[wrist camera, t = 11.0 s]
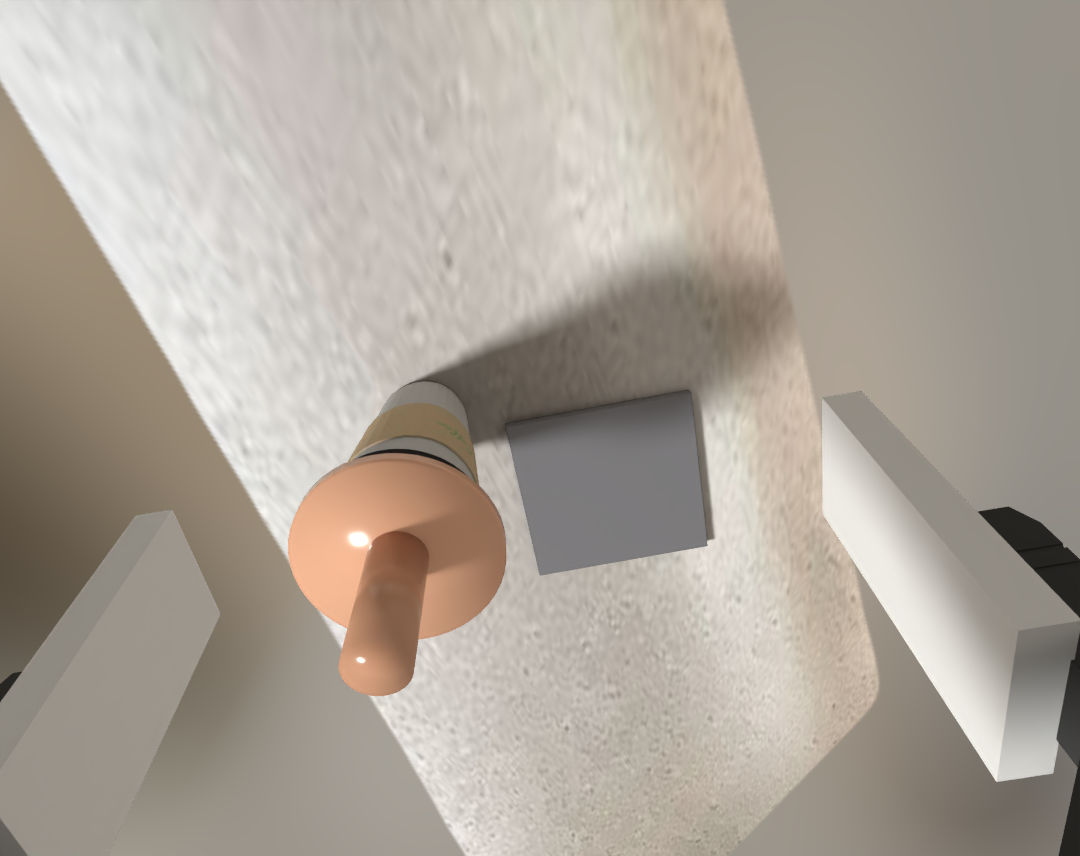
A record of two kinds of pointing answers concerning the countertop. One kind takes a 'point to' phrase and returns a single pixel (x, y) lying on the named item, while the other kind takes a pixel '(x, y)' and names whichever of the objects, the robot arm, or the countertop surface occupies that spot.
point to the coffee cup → (422, 428)
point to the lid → (395, 559)
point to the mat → (610, 482)
